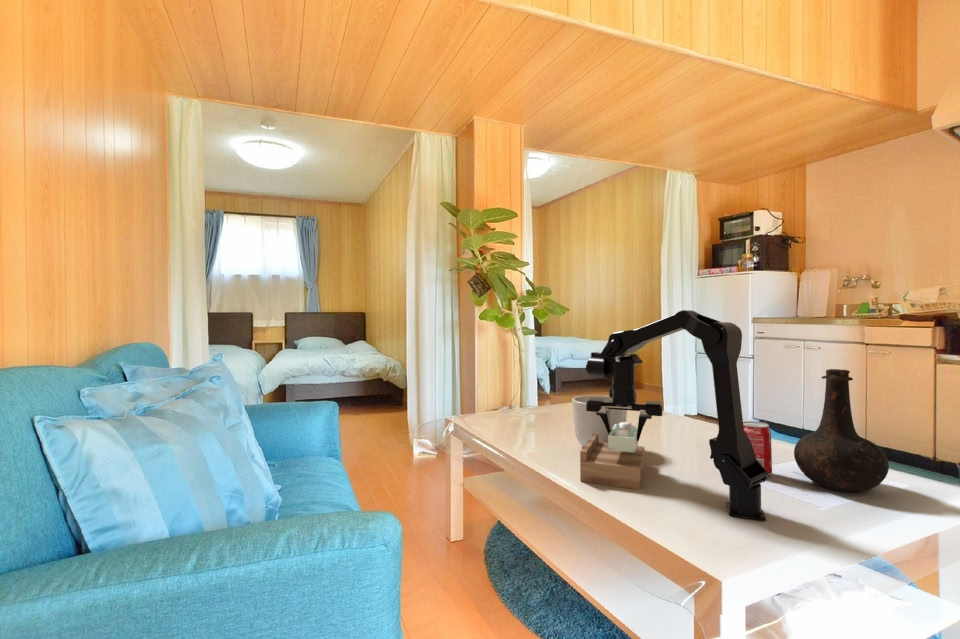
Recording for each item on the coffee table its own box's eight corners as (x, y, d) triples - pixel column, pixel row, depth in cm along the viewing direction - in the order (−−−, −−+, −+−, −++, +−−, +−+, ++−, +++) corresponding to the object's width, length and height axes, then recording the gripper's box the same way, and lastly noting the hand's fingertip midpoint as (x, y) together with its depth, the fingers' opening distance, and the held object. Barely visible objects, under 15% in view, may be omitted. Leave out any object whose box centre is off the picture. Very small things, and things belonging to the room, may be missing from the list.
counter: (639, 489, 105) (639, 458, 105) (580, 481, 111) (580, 451, 111) (644, 464, 123) (644, 437, 123) (593, 458, 129) (593, 432, 129)
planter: (595, 458, 129) (595, 406, 129) (561, 444, 144) (561, 397, 144) (640, 451, 136) (639, 401, 136) (603, 438, 151) (603, 393, 151)
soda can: (777, 479, 111) (776, 427, 111) (745, 477, 112) (745, 426, 113) (765, 469, 118) (764, 421, 118) (735, 468, 119) (735, 420, 119)
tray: (635, 452, 108) (635, 433, 108) (608, 449, 111) (608, 431, 111) (639, 438, 121) (638, 421, 121) (614, 436, 124) (614, 420, 124)
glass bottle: (843, 503, 96) (842, 375, 96) (776, 475, 114) (775, 366, 114) (911, 497, 99) (910, 372, 99) (835, 471, 117) (834, 365, 117)
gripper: (662, 377, 120) (663, 435, 120) (592, 375, 127) (593, 429, 127) (661, 383, 109) (662, 446, 109) (585, 379, 117) (586, 439, 117)
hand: (624, 439), depth 116 cm, fingers closed on tray, 6 cm apart
